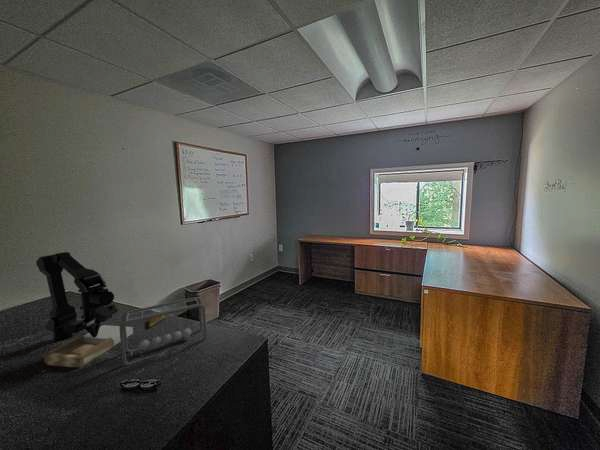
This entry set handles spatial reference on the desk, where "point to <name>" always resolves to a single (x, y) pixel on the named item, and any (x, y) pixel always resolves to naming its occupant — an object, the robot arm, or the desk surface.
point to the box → (62, 357)
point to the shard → (157, 319)
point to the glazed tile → (81, 349)
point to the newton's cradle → (155, 340)
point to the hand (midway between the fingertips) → (94, 337)
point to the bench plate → (107, 334)
